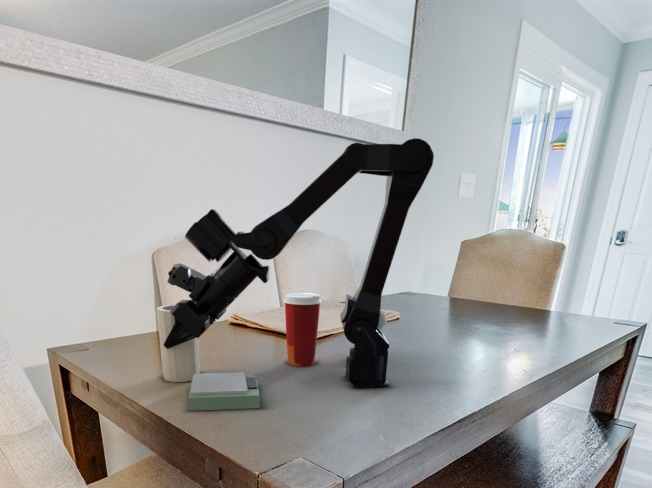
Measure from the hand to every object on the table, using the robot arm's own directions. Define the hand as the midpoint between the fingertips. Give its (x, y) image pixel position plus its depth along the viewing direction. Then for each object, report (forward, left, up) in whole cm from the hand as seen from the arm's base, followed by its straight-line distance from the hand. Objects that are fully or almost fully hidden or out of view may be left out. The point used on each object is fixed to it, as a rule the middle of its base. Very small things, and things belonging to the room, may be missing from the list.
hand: (171, 341), depth 85 cm
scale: (-9, +12, -7) cm, 17 cm away
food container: (-40, -8, -7) cm, 42 cm away
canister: (-1, 0, -7) cm, 7 cm away
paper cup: (-25, -7, -7) cm, 27 cm away
